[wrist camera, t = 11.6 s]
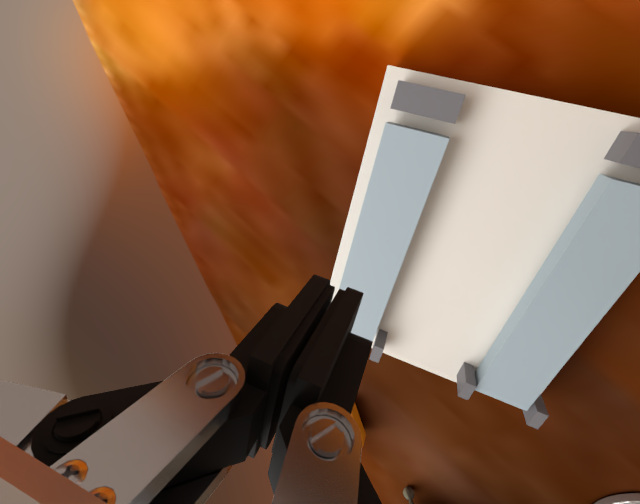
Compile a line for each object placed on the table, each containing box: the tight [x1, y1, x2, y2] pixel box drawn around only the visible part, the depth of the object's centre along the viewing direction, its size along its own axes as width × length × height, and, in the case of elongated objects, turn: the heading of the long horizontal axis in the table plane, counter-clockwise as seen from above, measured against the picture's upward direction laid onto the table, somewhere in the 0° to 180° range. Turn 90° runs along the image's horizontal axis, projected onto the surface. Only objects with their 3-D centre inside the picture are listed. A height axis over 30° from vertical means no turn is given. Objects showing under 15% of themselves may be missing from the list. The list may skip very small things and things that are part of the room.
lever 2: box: [475, 174, 640, 411], centre depth 27 cm, size 22×5×2 cm, turn 168°
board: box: [330, 65, 640, 429], centre depth 30 cm, size 28×24×6 cm
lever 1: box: [339, 122, 450, 341], centre depth 31 cm, size 22×5×2 cm, turn 168°
